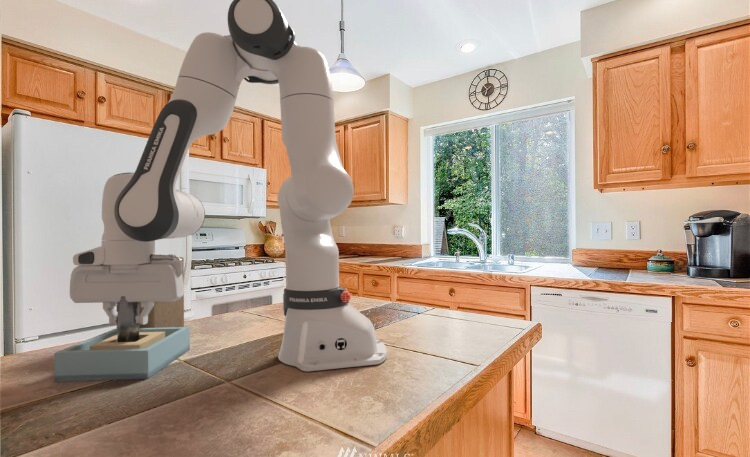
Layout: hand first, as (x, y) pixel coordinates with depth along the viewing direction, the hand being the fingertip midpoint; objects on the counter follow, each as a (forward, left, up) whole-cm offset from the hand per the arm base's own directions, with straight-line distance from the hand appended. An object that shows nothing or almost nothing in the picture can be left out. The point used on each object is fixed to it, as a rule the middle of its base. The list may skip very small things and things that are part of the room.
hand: (128, 324), depth 72 cm
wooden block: (+4, -15, -8) cm, 18 cm away
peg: (0, 0, -4) cm, 4 cm away
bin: (0, 0, -8) cm, 8 cm away
